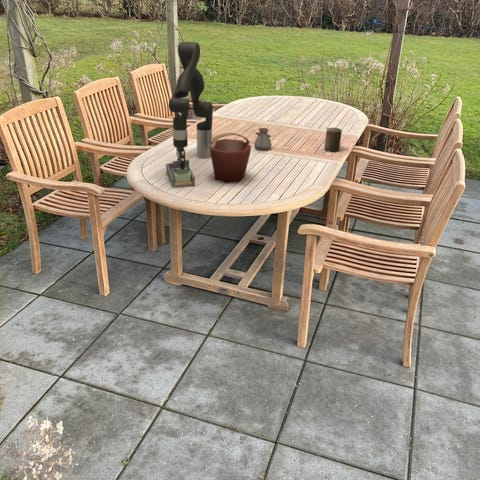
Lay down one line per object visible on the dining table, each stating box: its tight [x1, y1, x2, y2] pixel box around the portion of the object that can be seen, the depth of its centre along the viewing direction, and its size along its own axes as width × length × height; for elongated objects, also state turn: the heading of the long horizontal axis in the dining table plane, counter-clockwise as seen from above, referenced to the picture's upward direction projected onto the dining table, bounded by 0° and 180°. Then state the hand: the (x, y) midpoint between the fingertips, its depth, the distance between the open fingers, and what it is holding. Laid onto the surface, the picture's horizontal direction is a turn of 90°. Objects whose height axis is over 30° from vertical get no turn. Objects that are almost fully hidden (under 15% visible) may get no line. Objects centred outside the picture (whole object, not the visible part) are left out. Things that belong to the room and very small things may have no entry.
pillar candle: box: [324, 127, 342, 153], centre depth 325 cm, size 10×10×15 cm
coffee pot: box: [253, 127, 273, 151], centre depth 319 cm, size 21×12×15 cm, turn 159°
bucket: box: [209, 132, 252, 184], centre depth 277 cm, size 24×22×25 cm
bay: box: [165, 162, 196, 189], centre depth 277 cm, size 12×23×5 cm, turn 16°
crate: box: [172, 159, 191, 183], centre depth 271 cm, size 8×10×11 cm
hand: (181, 166), depth 270 cm, fingers open, 8 cm apart
